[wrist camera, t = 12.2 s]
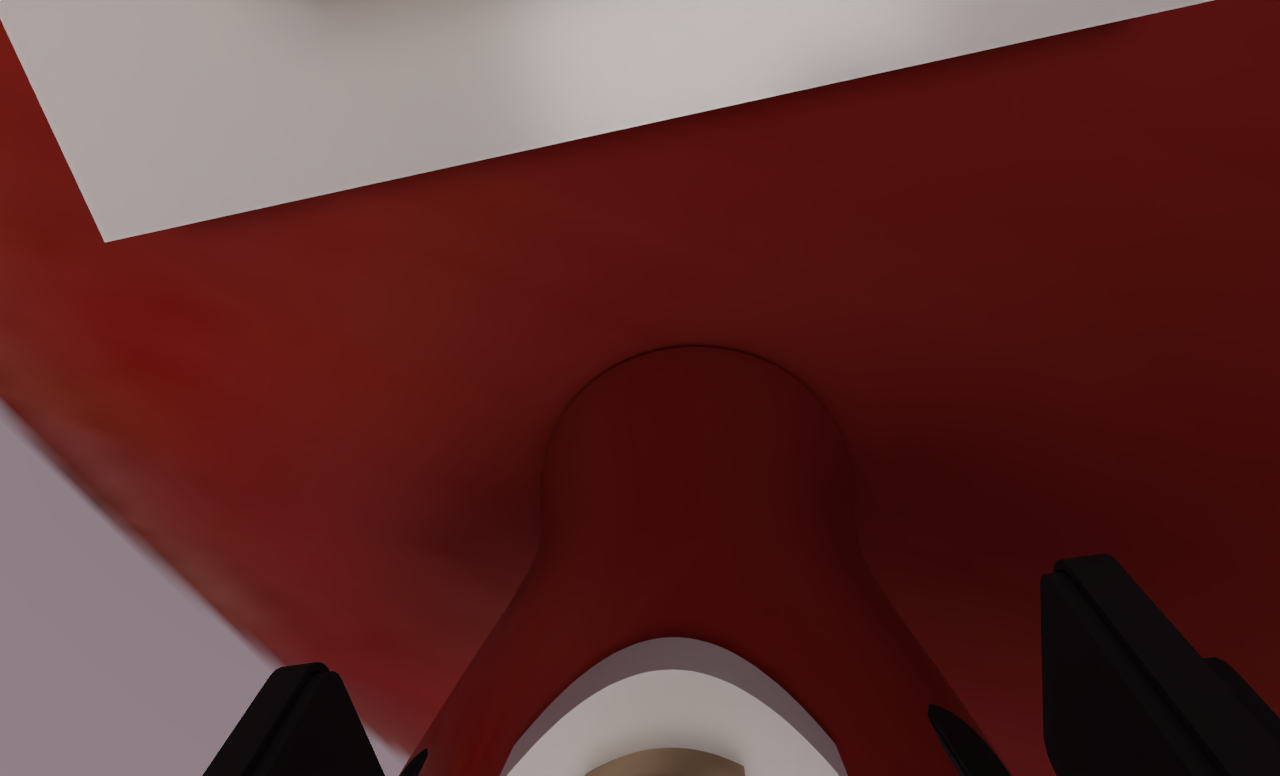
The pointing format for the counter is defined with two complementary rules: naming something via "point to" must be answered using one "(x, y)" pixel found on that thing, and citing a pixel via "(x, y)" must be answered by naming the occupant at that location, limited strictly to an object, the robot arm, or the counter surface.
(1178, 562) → the counter surface
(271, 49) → the serving board
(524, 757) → the beer glass
